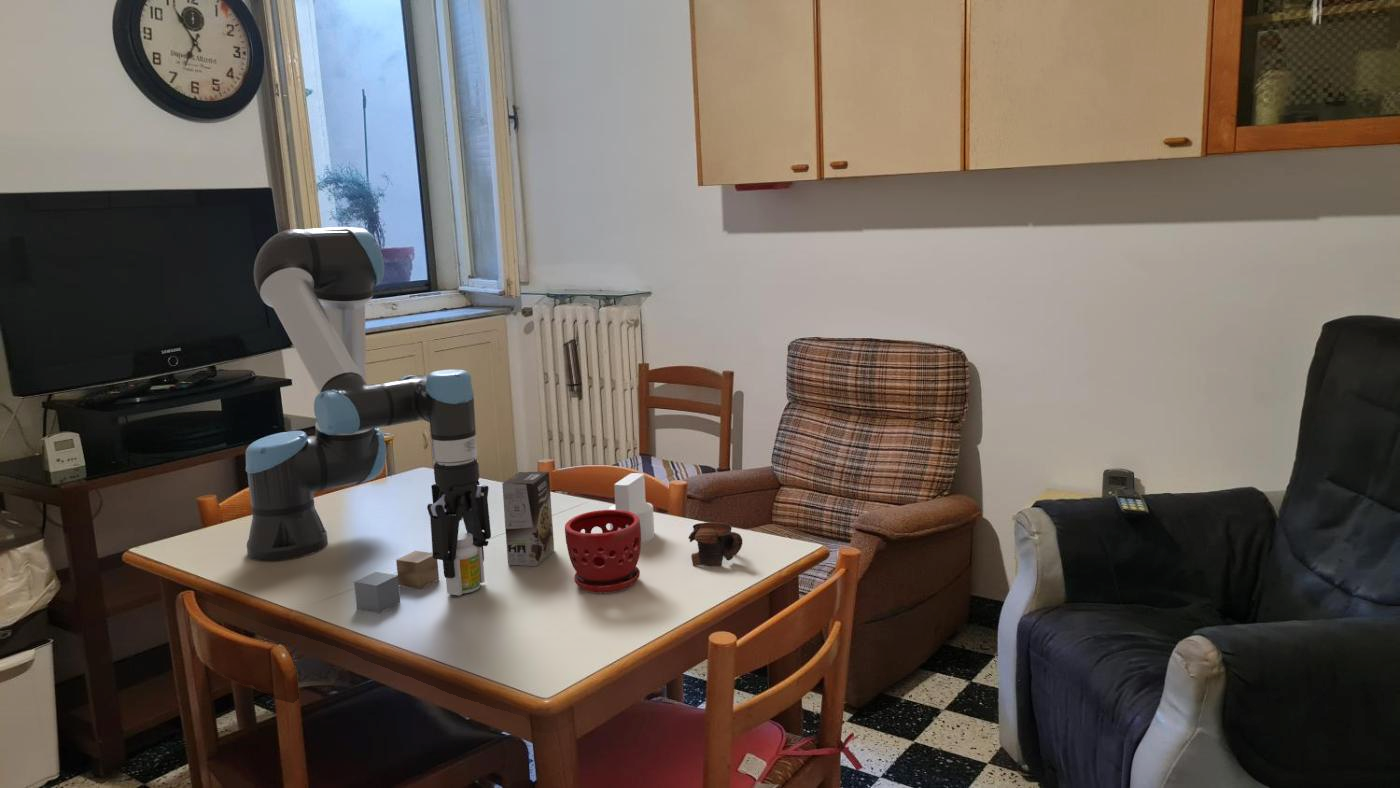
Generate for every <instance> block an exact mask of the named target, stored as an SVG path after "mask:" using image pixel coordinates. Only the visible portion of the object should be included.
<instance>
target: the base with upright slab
mask: <svg viewBox="0 0 1400 788" xmlns="http://www.w3.org/2000/svg"><path fill="white" fill-rule="evenodd" d="M613 486H614V488H613V489H614V504H612V505H611V506H609V508H608V510H623V511H628V512H632V513H634V514H636V515H637V516H638V518H639V520H640V528H641V543H643V541H644V542H646V541H650V540H651V539H653V538H654V537H655V523H654V521H655V519H654V505H653V503H650V502H647V501H646V484H645V474H644V473H637V472H636V473H635V472H634V473H633V472H630V473H629V474H627V475H626V476H624V477H623V478H622V479H620V480H618V481H617V482H616V483H614V484H613ZM626 527H628V525H626ZM612 529H613V525H612V524H610V523H609V530H612ZM618 530H621V528H618ZM633 543H634V542H633Z"/></svg>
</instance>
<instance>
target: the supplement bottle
mask: <svg viewBox="0 0 1400 788" xmlns="http://www.w3.org/2000/svg"><path fill="white" fill-rule="evenodd" d="M472 544H473V535H472V534H470V533H467V532H458V540H457V550H456V558H459V559H460V571H461V583H462V595H463V594H470V593H473V592H476V591H477V590H479V588H480V587H481V583H480V572H479V559H478V549H477V547H476V546H474V545H472ZM448 553H449V551H448Z"/></svg>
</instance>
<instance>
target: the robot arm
mask: <svg viewBox="0 0 1400 788" xmlns="http://www.w3.org/2000/svg"><path fill="white" fill-rule="evenodd" d="M384 277H385V262H384V255H383V253H382V251H381V247H380V245H379V244H378V241H377V239H376V238H375V237H374V235H373V234H372V233H371V232H369V231H368V230H367V229H365V228H362V227H351V226H350V227H348V226H335V227H320V228H319V227H318V228H317V227H316V228H303V229H302V228H292V229H287V230H286V229H285V230H283V231H280V232H278V233H275V234H274V235H273V236H271V237H270V238H269V239H268V240H266V242H265V243H264V244H263V245H262V246H261V248H260V250H259V251H258V253H257V255H256V258H255V261H254V265H253V281H254V285H255V287H256V288H255V289H256V291H257V293H258V294H259V296H260V298H261V300H262V302H263V303H264V304H265V305H266V306H268V307H271V308H272V309H273V310H274V312H275V314H276V315H277V317H278V320H279V321H280V322H281V324H282V327H283V328H284V330H285V332H286V335H287V336H288V338H289V340H290V342H291V343H292V345H293V347H294V349H295V350H296V352H297V355H298V356H299V359H300V360H301V361H302V364H303V365H304V367H305V369H306V371H307V372H308V375H309V376H310V378H311V380H312V382H313V384H314V386H315V388H316V389H317V391H318V394H317V395H316V397H315V398H314V402H313V412H314V417H315V419H316V422H315V426H314V427H315V430H314V431H315V434H314V435H309V436H308V435H307V433H306V432H305V431H303V430H289V431H286V432H285V431H282V432H277V433H273V434H270V435H266V436H264V437H261V438H259V439H257V440H255V441H253V442H252V443H250V444H249V445H248V447H247V448H246V450H245V472H246V473H247V475H246V476H247V483H248V490H249V497H250V498H249V499H250V505H251V514H252V518H251V524H250V527H249V535H248V539H247V542H246V551H247V557H248V558H250V559H252V560H255V561H260V562H261V561H262V562H272V561H273V562H276V561H287V560H293V559H297V558H302V557H306V556H309V555H312V554H314V553H317V552H318V551H321V550H323V549H325V548H326V546H327V545H328V543H329V541H328V533H327V530H326V529H325V527H324V524H323V522H322V520H321V518H320V516H319V514H318V512H317V510H316V505H315V499H314V498H315V497H314V496H315V495H314V494H315V493H318V492H319V493H320V492H324V491H328V490H333V489H338V488H343V487H348V486H354V485H361V484H362V483H364V482H368V481H372V480H374V479H376V478H377V477H378V476H379V475H380V474H381V473H382V471H384V467H385V464H386V460H387V443H386V442H385V436H384V432H383V431H382V430H381V428H384V427H391V426H397V425H402V424H407V423H412V422H417V421H419V422H420V421H425V422H427V423H429V426H430V427H429V428H430V436H431V437H430V440H431V441H430V443H431V453H432V454H431V455H432V459H433V461H434V464H433V472H434V473H433V474H434V482H435V483H434V484H437V485H438V486H439V488H440V492H439V497H438V498H439V500H438V501H436V502H435V503H434V504H433V503H428V504H427V506H426V507H427V508H426V509H427V513H428V514H429V517H430V519H429V521H430V533H431V548H432V549H431V550H432V552H431V553H433V558H434V559H437V560H442V568H443V576H444V578H445V580H446V581H445V582H446V592H447V593H446V594H448V595H455V596H458V597H460V596H461V595H463V594H462V583H461V571H460V559H459V558H456V550H457V540H458V533H459V529H460V528H459V527H460V521H462V520H463V523H464V526H465V529H466V533H470V534H472V535H473V544H472V545H474V546H476V547H477V549H478V559H479V572H480V584H483V583H485V582H486V581H485V571H484V570H485V568H484V561H485V552H484V547H487V546H488V545H489V540H490V539H491V538H492V533H491V532H492V531H491V521H490V512H489V511H490V510H489V503H488V502H489V501H488V496H489V486H488V485H484V484H480V485H477V483H476V482H477V481H479V480H480V465H479V460H478V459H477V456H478V447H477V446H478V445H477V436H476V435H477V433H476V432H477V430H476V429H477V427H476V416H475V415H476V414H475V413H476V411H475V399H474V398H475V397H474V396H475V392H474V391H475V390H474V389H473V382H472V376H471V374H470V372H469V371H467V370H464V369H453V368H452V369H441V370H436V371H432V372H430V373H428V374H427V376H425V375H421V374H416V375H413V374H412V375H405V376H403V377H401V378H399V379H398V380H394V381H388V382H380V383H375V384H374V383H373V384H367V351H366V349H367V348H366V346H367V345H366V342H367V341H366V304H367V303H368V302H369V301H370V300H371V299H373V297H374V295H373V294H374V293H373V292H374V290H373V288H374V287H377V286H378V285H380V284H382V282H383V279H384ZM449 513H450V514H453V515H450V514H449ZM448 551H449V553H448Z"/></svg>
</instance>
